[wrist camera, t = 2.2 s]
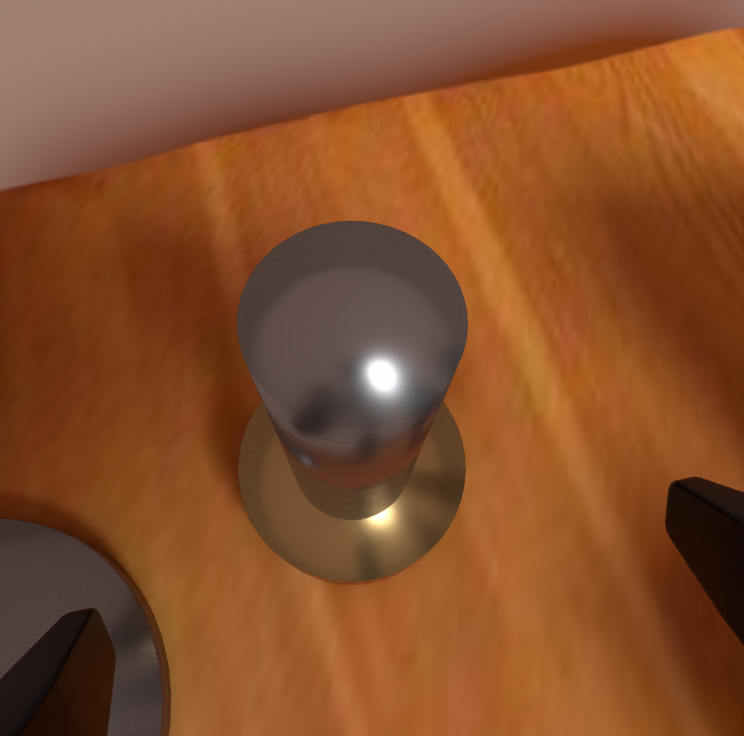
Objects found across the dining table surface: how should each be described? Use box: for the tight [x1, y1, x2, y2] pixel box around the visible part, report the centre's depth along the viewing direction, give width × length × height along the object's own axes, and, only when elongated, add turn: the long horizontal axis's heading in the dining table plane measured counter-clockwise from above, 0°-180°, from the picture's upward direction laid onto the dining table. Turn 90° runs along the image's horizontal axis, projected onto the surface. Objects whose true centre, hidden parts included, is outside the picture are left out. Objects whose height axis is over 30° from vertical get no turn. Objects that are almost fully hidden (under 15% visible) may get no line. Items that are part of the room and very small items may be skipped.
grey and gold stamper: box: [237, 221, 468, 585], centre depth 15 cm, size 7×7×12 cm
